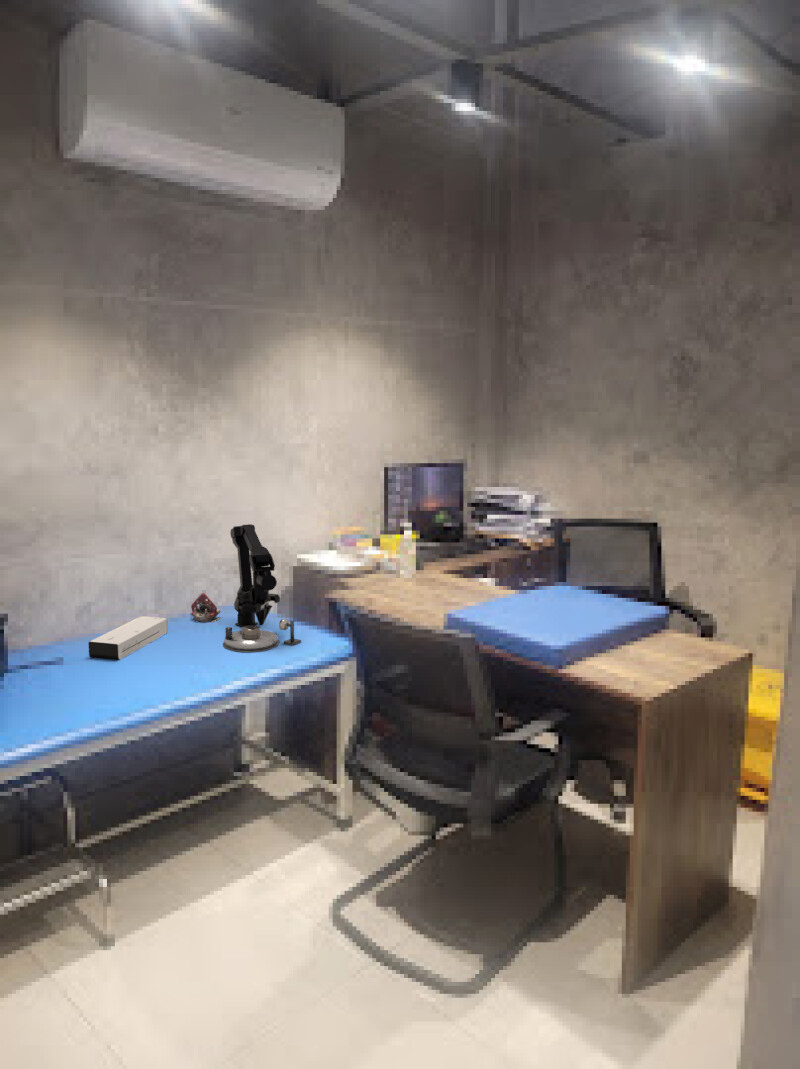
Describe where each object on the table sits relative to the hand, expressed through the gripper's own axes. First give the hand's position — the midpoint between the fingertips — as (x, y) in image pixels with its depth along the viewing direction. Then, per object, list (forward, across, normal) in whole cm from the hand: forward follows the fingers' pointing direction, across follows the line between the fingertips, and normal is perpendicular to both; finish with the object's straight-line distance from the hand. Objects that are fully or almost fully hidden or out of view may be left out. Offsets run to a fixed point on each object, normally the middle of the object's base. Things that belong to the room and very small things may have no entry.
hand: (261, 625), depth 306 cm
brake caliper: (+6, -14, -34) cm, 37 cm away
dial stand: (+5, +1, +13) cm, 14 cm away
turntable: (+5, +7, 0) cm, 9 cm away
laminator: (+6, +25, -40) cm, 48 cm away
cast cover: (+3, +8, 0) cm, 8 cm away
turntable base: (+5, +7, 0) cm, 9 cm away
